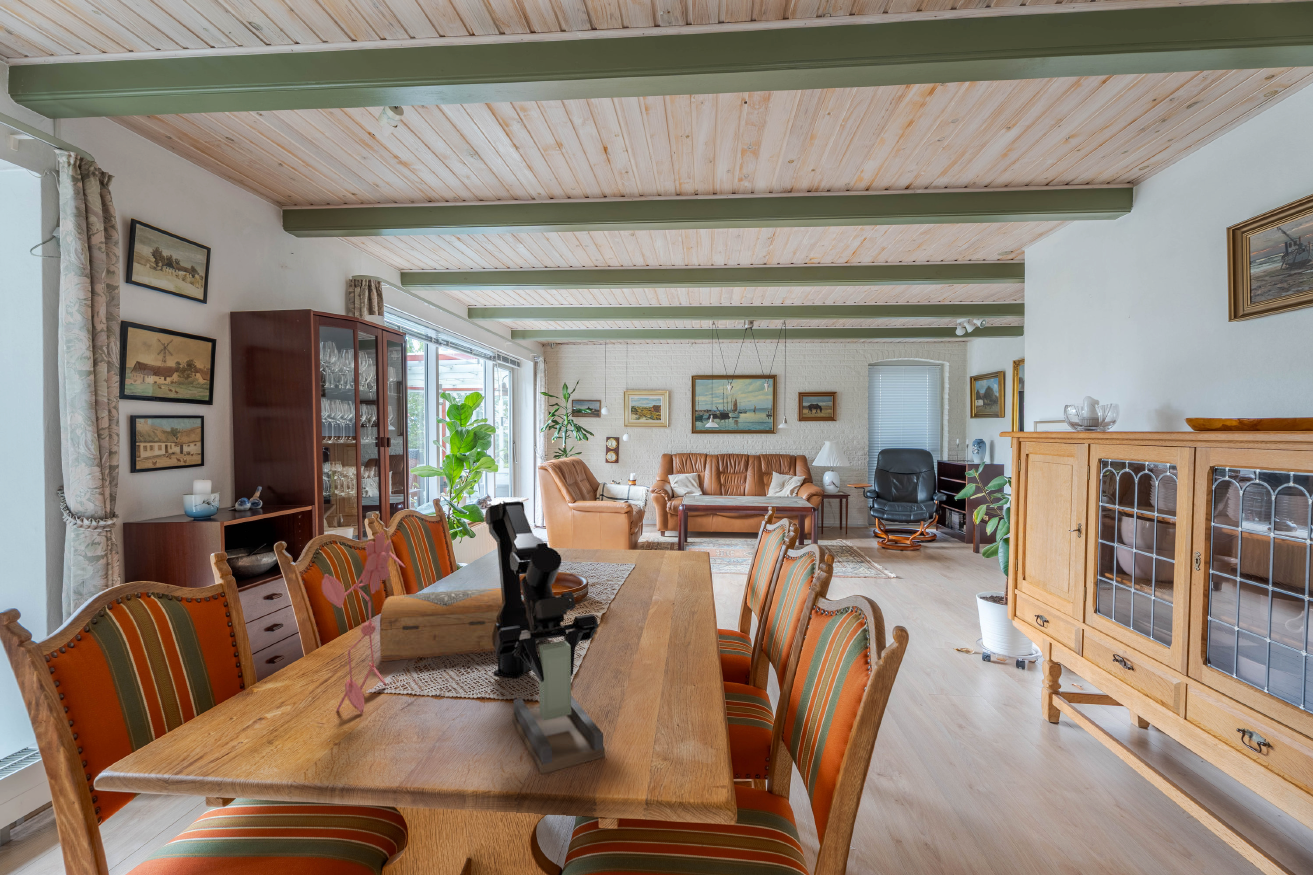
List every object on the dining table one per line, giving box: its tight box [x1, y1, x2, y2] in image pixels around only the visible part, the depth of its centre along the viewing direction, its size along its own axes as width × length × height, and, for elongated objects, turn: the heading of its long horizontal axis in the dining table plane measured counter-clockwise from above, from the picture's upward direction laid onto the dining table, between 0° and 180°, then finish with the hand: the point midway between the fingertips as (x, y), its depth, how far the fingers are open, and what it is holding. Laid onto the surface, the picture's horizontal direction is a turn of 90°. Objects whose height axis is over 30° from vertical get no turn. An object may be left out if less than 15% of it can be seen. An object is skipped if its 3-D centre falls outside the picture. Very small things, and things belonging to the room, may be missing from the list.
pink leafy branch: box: [315, 530, 424, 725], centre depth 123 cm, size 15×26×35 cm, turn 0°
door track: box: [511, 694, 606, 775], centre depth 108 cm, size 20×11×4 cm, turn 27°
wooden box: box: [379, 587, 502, 662], centre depth 155 cm, size 30×16×14 cm, turn 102°
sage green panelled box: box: [538, 640, 572, 721], centre depth 107 cm, size 3×5×12 cm, turn 117°
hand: (557, 677), depth 106 cm, fingers closed on sage green panelled box, 5 cm apart
